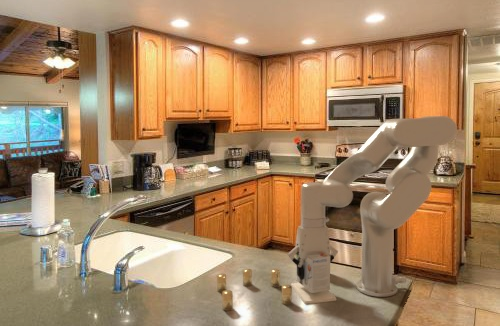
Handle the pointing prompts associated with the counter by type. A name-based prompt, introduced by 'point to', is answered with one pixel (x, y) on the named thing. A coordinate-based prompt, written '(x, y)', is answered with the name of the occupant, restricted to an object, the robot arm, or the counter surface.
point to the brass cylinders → (247, 281)
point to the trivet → (312, 294)
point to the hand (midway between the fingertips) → (312, 276)
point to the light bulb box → (316, 273)
